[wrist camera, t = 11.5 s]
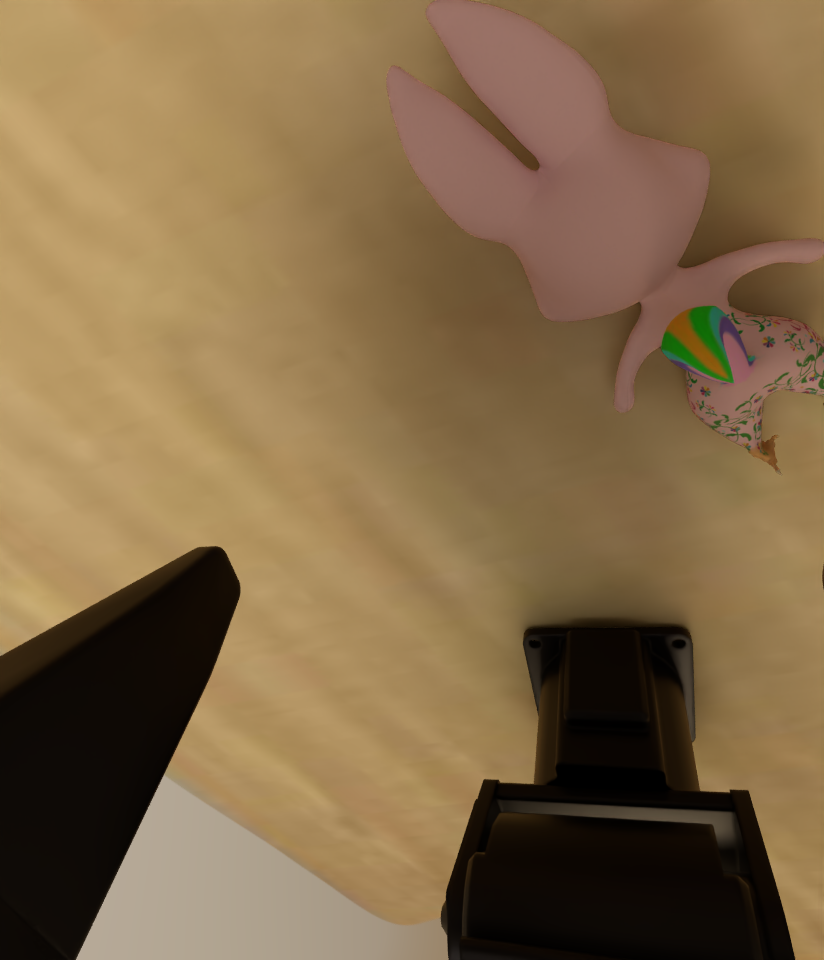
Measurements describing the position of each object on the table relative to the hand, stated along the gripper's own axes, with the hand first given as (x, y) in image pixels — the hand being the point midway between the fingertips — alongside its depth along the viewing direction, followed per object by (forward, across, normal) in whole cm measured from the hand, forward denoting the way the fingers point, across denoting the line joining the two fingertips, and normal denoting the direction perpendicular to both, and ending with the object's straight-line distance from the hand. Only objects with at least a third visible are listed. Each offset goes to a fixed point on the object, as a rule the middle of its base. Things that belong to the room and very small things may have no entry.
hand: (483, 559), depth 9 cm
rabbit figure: (+12, -3, -2) cm, 12 cm away
